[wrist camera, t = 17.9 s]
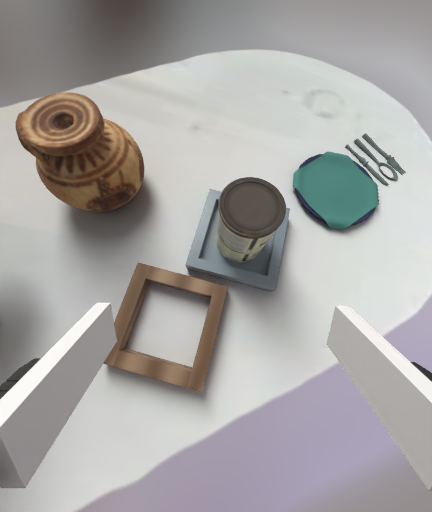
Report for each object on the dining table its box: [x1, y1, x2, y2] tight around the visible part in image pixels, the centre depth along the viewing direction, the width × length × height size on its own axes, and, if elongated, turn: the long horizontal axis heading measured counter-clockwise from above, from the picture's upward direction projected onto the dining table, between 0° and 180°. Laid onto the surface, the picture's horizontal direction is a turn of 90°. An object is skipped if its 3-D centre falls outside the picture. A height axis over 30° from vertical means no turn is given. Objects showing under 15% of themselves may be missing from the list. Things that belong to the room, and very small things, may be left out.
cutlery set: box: [293, 134, 405, 229], centre depth 51 cm, size 20×30×2 cm, turn 125°
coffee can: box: [216, 177, 286, 263], centre depth 38 cm, size 10×10×14 cm
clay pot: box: [16, 93, 144, 212], centre depth 40 cm, size 19×19×20 cm
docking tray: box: [186, 189, 290, 291], centre depth 44 cm, size 18×18×3 cm
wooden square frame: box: [103, 263, 228, 392], centre depth 39 cm, size 18×18×3 cm
